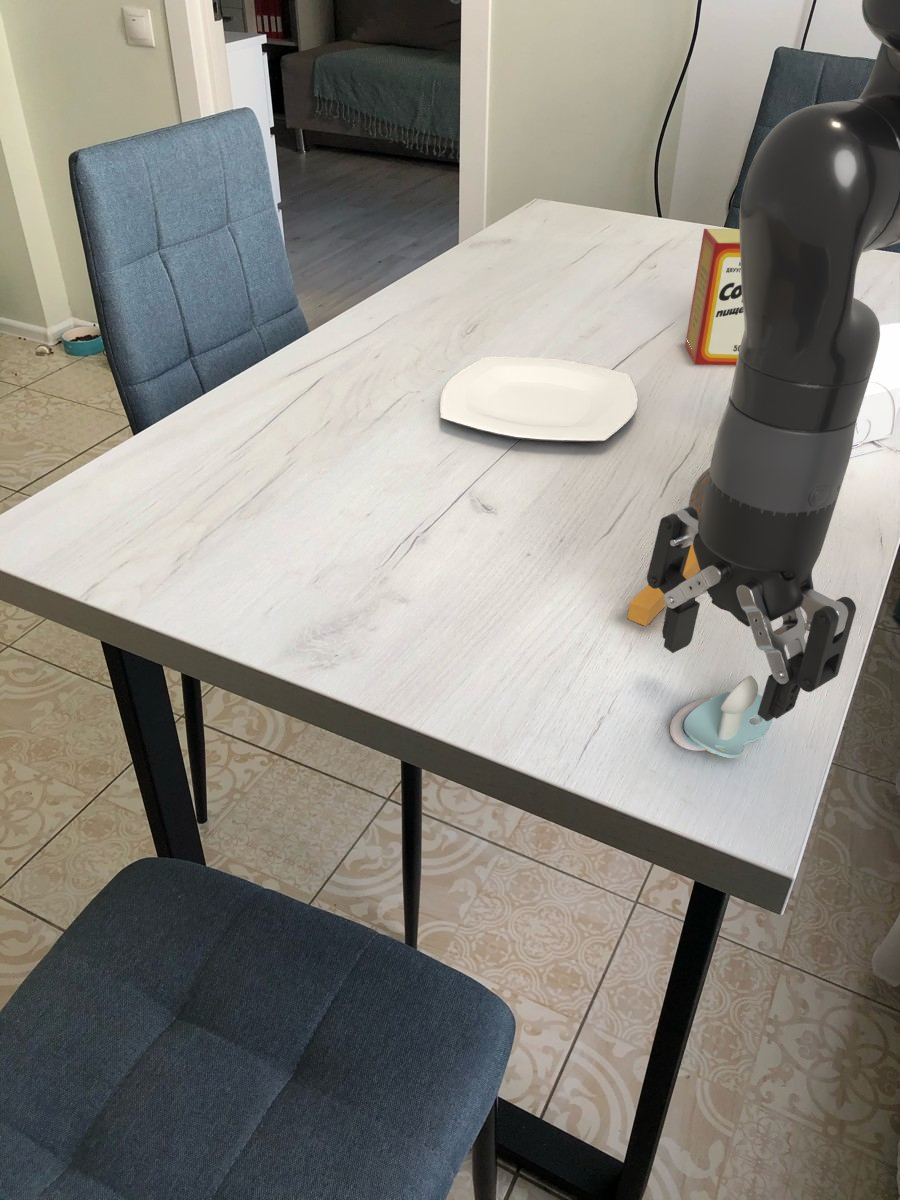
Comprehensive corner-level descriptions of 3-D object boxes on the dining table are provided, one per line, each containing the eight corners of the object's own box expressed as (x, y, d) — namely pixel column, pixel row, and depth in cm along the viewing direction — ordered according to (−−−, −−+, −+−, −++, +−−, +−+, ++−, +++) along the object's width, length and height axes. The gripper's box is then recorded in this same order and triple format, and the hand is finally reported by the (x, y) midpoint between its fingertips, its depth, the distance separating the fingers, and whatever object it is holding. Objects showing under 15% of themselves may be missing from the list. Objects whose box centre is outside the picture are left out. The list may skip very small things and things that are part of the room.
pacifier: (650, 738, 68) (720, 782, 64) (660, 671, 65) (735, 714, 61) (709, 693, 72) (778, 732, 69) (721, 628, 69) (795, 665, 65)
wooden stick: (688, 556, 87) (691, 540, 86) (706, 563, 86) (710, 547, 85) (626, 618, 79) (629, 601, 78) (645, 626, 79) (648, 609, 78)
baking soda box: (694, 364, 125) (715, 239, 115) (684, 346, 130) (704, 225, 120) (765, 365, 125) (793, 240, 115) (753, 346, 130) (778, 226, 120)
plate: (619, 467, 101) (621, 450, 100) (416, 437, 107) (416, 421, 105) (647, 384, 119) (649, 369, 118) (472, 362, 124) (472, 348, 123)
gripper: (919, 508, 53) (841, 716, 63) (724, 415, 62) (683, 609, 72) (837, 550, 49) (768, 763, 59) (643, 444, 59) (611, 644, 68)
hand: (721, 678), depth 65 cm, fingers open, 8 cm apart
